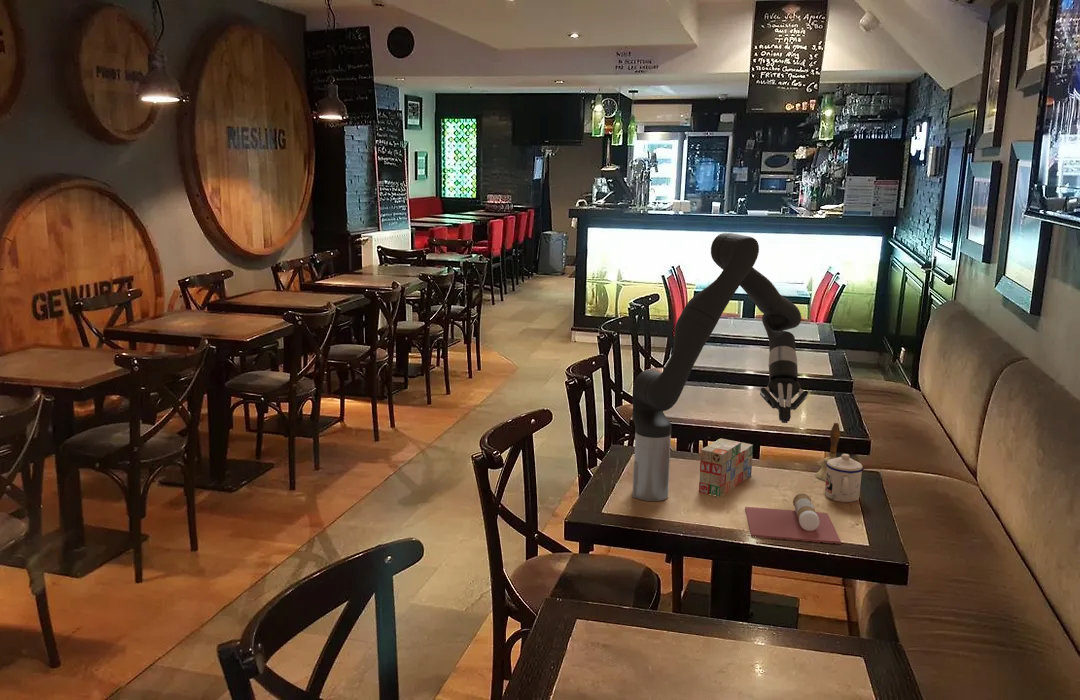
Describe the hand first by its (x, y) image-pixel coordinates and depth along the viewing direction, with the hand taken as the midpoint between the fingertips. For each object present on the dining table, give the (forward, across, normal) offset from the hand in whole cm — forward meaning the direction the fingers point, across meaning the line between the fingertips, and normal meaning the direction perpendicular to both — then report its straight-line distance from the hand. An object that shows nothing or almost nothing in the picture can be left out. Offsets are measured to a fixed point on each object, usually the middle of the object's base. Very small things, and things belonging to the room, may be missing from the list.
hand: (785, 421), depth 212 cm
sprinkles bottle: (+21, +4, +3) cm, 21 cm away
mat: (+30, 0, -1) cm, 30 cm away
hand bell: (+3, +16, +25) cm, 30 cm away
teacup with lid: (+15, +16, +14) cm, 26 cm away
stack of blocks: (+11, -14, +17) cm, 25 cm away
